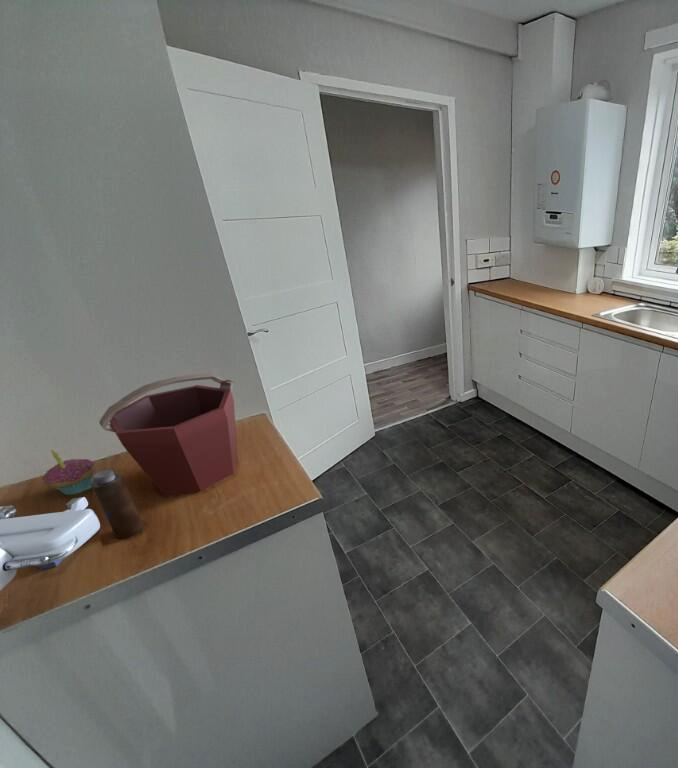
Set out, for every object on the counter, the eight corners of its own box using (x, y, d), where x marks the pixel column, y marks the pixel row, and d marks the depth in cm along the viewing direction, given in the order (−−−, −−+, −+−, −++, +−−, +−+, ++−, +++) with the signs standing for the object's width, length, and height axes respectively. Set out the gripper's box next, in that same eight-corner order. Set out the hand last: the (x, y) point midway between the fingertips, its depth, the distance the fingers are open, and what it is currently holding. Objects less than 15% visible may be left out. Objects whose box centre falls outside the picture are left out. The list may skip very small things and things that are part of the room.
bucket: (250, 437, 115) (225, 354, 104) (264, 477, 99) (235, 385, 88) (137, 469, 101) (94, 378, 90) (132, 521, 85) (79, 418, 75)
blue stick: (59, 571, 74) (53, 561, 73) (42, 574, 73) (36, 564, 72) (92, 532, 82) (87, 522, 81) (77, 534, 82) (72, 525, 81)
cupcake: (99, 492, 93) (76, 448, 88) (47, 506, 89) (19, 461, 84) (106, 473, 100) (85, 431, 94) (58, 485, 95) (32, 442, 90)
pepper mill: (117, 541, 80) (88, 483, 74) (113, 530, 83) (86, 473, 77) (145, 529, 83) (120, 473, 78) (141, 519, 86) (116, 464, 80)
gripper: (48, 543, 54) (115, 480, 66) (-156, 570, 50) (-43, 497, 62) (68, 578, 56) (129, 511, 69) (-124, 606, 52) (-22, 529, 64)
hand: (46, 504), depth 65 cm, fingers open, 8 cm apart
